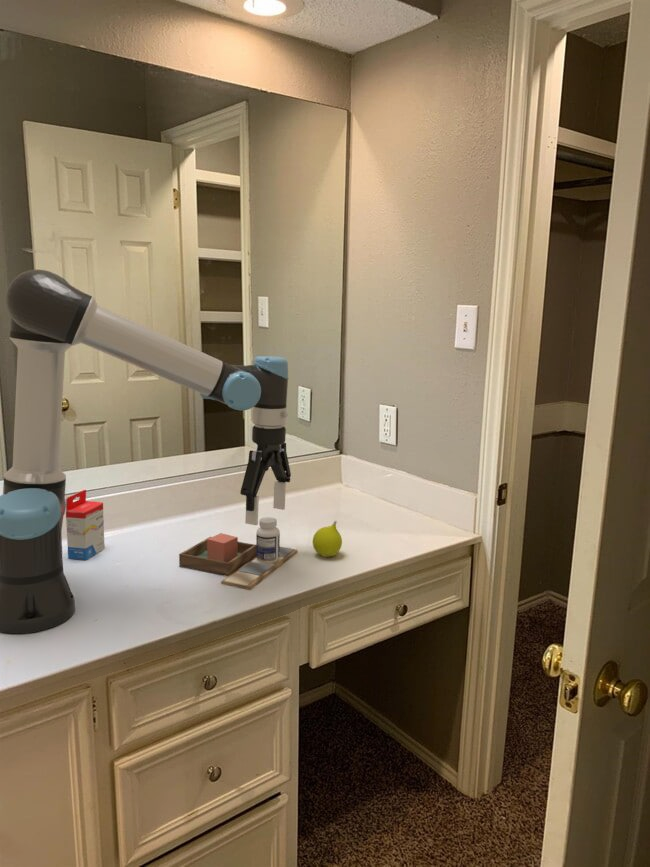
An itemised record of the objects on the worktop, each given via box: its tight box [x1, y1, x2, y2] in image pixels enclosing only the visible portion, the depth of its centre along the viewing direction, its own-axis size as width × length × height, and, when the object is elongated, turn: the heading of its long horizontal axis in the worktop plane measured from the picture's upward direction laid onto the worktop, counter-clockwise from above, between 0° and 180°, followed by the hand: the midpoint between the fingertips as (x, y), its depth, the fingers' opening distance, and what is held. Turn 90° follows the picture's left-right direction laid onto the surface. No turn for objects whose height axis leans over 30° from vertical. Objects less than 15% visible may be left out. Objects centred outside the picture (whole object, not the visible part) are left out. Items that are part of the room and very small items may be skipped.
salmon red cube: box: [206, 532, 239, 562], centre depth 154 cm, size 5×5×5 cm
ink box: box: [65, 489, 106, 561], centre depth 155 cm, size 8×5×15 cm, turn 168°
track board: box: [220, 546, 298, 590], centre depth 151 cm, size 24×7×1 cm, turn 157°
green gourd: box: [312, 520, 343, 558], centre depth 158 cm, size 7×7×10 cm
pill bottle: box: [255, 516, 281, 563], centre depth 152 cm, size 5×5×10 cm
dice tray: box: [178, 536, 256, 577], centre depth 153 cm, size 13×13×3 cm
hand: (265, 516), depth 151 cm, fingers open, 13 cm apart
